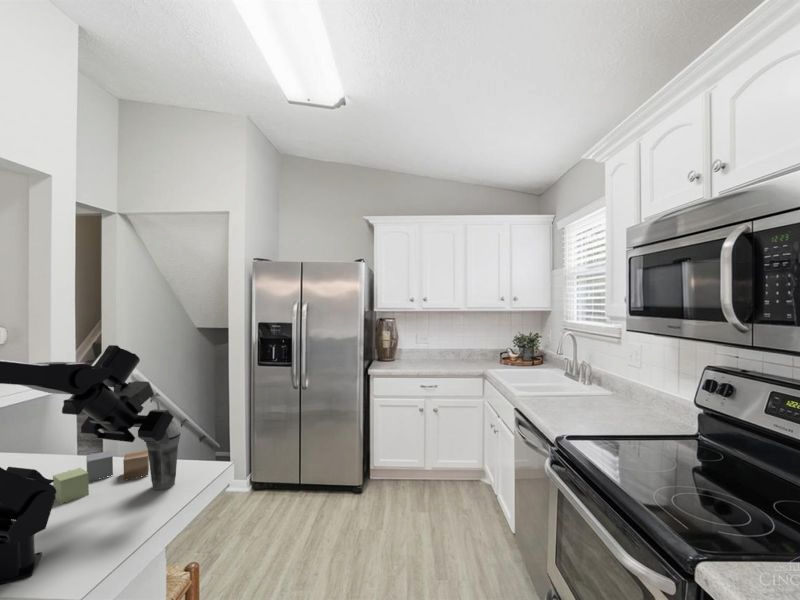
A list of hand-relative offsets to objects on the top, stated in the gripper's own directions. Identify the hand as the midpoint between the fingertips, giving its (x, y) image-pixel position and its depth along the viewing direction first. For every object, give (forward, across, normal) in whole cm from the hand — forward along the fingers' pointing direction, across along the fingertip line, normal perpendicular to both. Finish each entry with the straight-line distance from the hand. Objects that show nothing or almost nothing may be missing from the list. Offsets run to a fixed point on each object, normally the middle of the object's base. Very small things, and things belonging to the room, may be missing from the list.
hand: (150, 441), depth 93 cm
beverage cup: (+11, 0, +6) cm, 12 cm away
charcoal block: (+12, +20, +5) cm, 24 cm away
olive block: (+5, +17, +12) cm, 21 cm away
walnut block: (+14, +12, +3) cm, 18 cm away
